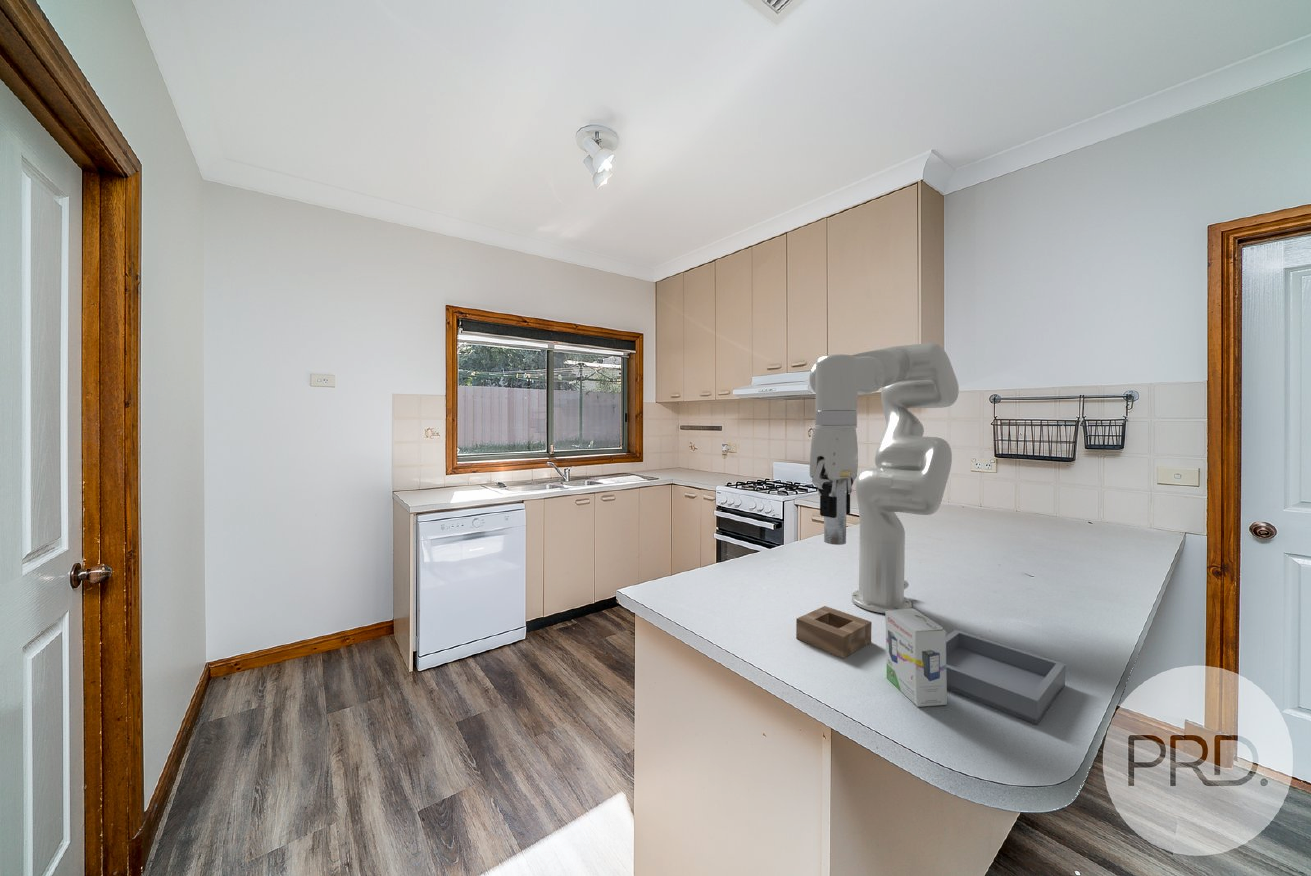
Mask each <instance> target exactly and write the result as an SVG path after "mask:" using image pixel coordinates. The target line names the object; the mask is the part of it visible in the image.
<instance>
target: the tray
mask: <svg viewBox="0 0 1311 876" xmlns="http://www.w3.org/2000/svg"><path fill="white" fill-rule="evenodd" d="M1066 666H1067V665H1066V663H1063V662H1060V661H1056V660H1054V659H1051V658H1047V657H1045V656H1042V655H1038V654H1035V653H1032V652H1029V651H1026V650H1022V649H1018V648H1015V647H1012V646H1010V645H1009V646H1008V645H1005V644H1002V643H1001V642H1000V643H999V642H996V641H993V640H990V639H987V638H984V637H980V636H977V635H974V634H971V633H967V632H964V631H961V630H958V629H954V630H953V631H951V632H950V633H948V634H946V678H947V690H949V691H952V692H954V693H955V694H958V695H962V696H963V697H966V698H968V699H971V700H973V701H976V702H978V703H981V704H983V705H986V706H989V707H991V708H993V709H995V710H998V711H1000V712H1003V713H1005V714H1008V715H1011V716H1012V717H1015V718H1018V719H1020V720H1022V721H1025V722H1028V723H1030V724H1032V725H1035V726H1037V725H1038V724H1039V723H1040V721H1041V720H1042V719H1043V717H1044V716H1045V714H1046V713H1047V712H1048V710H1049V708H1050V707H1051V706H1052V704H1053V703H1054V702H1055V700H1056V699H1057V697H1058V696H1059V695H1060V694H1061V692H1062V691H1063V689H1064V687H1065V686H1066Z"/></svg>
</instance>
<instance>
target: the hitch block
mask: <svg viewBox="0 0 1311 876" xmlns="http://www.w3.org/2000/svg"><path fill="white" fill-rule="evenodd" d="M795 623H796V627H795V629H796V631H795V632H796V633H795V635H796V636H795V637H796V639H797V640H799V641H801V642H804V643H806V644H808V645H811V646H813V647H815V648H818V649H820V650H822V651H825V652H827V653H829V654H832V655H834V656H836V657H838V658H842V659H845V658H848V657H849V656H850V655H852V654H854V653H856V652H857V651H859V650H860V649H862V648H864V647H866V646H868V644H871V643H872V621H870V620H867V619H865V618H862V617H858V616H856V615H853V614H850V613H846V612H844V611H841V610H839V609H835V608H833V607H829V606H827V605H823V606H822V607H819V608H817V609H814V610H813V611H811V612H808V613H806V614H804V615H801V616H799V617H796V622H795Z"/></svg>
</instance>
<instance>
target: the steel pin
mask: <svg viewBox="0 0 1311 876" xmlns="http://www.w3.org/2000/svg"><path fill="white" fill-rule="evenodd" d="M850 476H851V470H850V471H844V472H841V475H840V477H850ZM825 479H829V478H828V476H825ZM825 483H826V482H825ZM827 485H828V486H829V488H830V483H827ZM846 494H847V478H843V479H840V480H836V488H835V495H834V497H837V517H836V518H830V517H825V516H823V519H824V520H823V542H824V543H826V544H828V545H837V546H840V545H841V546H842V545H845V544H847V514H846Z"/></svg>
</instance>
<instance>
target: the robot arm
mask: <svg viewBox="0 0 1311 876" xmlns="http://www.w3.org/2000/svg"><path fill="white" fill-rule="evenodd" d="M808 378H809V379H808V380H809V385H810V387H811V390H812V391H813V392H814V393H815V405H814V409H815V411H814V412H815V414H814V418H815V419H814V420H815V421H814V428H813V432H812V437H811V443H810V453H809V455H810V456H809V476H810V478H811V482H812V484H813V485H814V486H815V487H816V489H817V491H818V493H817V494H818V495H819V515H820V516H821V517H824V516H825V517H830V518H836V517H837V497H834V495H835V488H836V480H840V479H843V478H847V494H846V516H847V515H850V514H851V494H852V491H853V487H852V486H853V484H854V481H855V495H856V498H857V505H858V515H859V517H858V518H859V542H858V543H859V545H858V546H859V547H858V549H859V552H858V554H859V555H858V561H859V562H858V590H855V591H854V592H852V593H851V601H852V602H853V603H854V604H855V605H856V606H858V607H860V608H862V609H864V610H867V611H871V612H873V613H880V614H885V615H886V612H885V611H886V610H898V609H913V608H912V601H911V600H909V599H908V597H905V589H908V588H909V586H910V584H909V582H908V581H907V580H905V558H906V556H905V554H906V553H905V552H906V551H905V550H906V547H905V546H906V532H905V527H904V525H903V523H902V521H901V520H900V518H899V517H898V515H897V514H896V513H905V514H911V515H917V516H918V515H920V516H921V515H922V516H931V515H933V514H935V513H936V512H938V510H939V508H940V506H941V504H942V501H943V497H944V493H945V490H946V486H947V483H948V479H949V475H950V472H951V468H952V461H953V457H952V456H953V454H952V448H951V446H950V444H949V443H948V441H947V440H945V439H943V438H941V437H937V436H924V432H925V427H924V425H923V424H922V422H921V421H920V419H919V418H918V417H917V416H916V415H915V414H913V412H911V411H910V410H909V409H934V408H935V409H939V408H940V409H941V408H949V407H951V406H953V405H954V404H955V403H956V401H957V399H958V398H959V392H960V390H959V382H958V379H957V375H956V374H955V371H954V369H953V366H952V363H951V360H950V358H949V355H948V354H947V352H946V351H945V349H944V348H943V347H942V346H941V345H940V344H938V343H936V342H924V343H916V344H915V343H914V344H906V345H905V344H904V345H897V346H895V345H894V346H891V347H890V346H889V347H885V348H880V349H874V350H868V351H864V352H863V351H862V352H858V353H855V354H842V353H841V354H829V355H823V356H820V357H818V359H817V360H816V363H815V364H814V365H813V366H812V368H811V370H810V372H809V377H808ZM880 389H881V390H880ZM879 390H880V391H881V392H880V393H881V395H880V397H881V404H882V410H883V415H884V418H885V423H886V424H885V428H884V432H883V434H882V436H881V439H880V442H878V443H879V444H878V447H877V449H876V452H875V456H874V462H875V463H874V464H875V468H868V469H865V470H863V471H861V472H860V473H859V474H858V471H859V470H858V469H859V450H858V449H859V448H858V447H859V446H858V436H857V428H858V396H862V395H869V394H870V395H871V394H874V393H876V392H878V391H879ZM850 470H851V476H850V477H840V475H841V472H844V471H850ZM825 476H828V478H829V479H825ZM825 482H826V483H825ZM827 483H830V488H829V486H828V485H827Z"/></svg>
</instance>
